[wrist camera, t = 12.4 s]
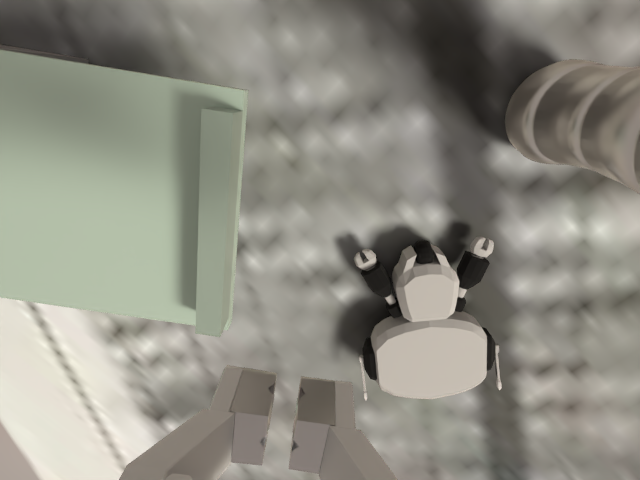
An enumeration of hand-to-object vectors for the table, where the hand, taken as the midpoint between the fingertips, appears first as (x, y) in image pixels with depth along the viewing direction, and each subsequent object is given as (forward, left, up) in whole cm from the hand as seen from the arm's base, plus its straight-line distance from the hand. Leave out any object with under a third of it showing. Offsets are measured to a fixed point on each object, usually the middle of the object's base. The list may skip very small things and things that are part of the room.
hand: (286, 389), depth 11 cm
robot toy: (+9, +11, -22) cm, 26 cm away
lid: (0, -12, -13) cm, 17 cm away
